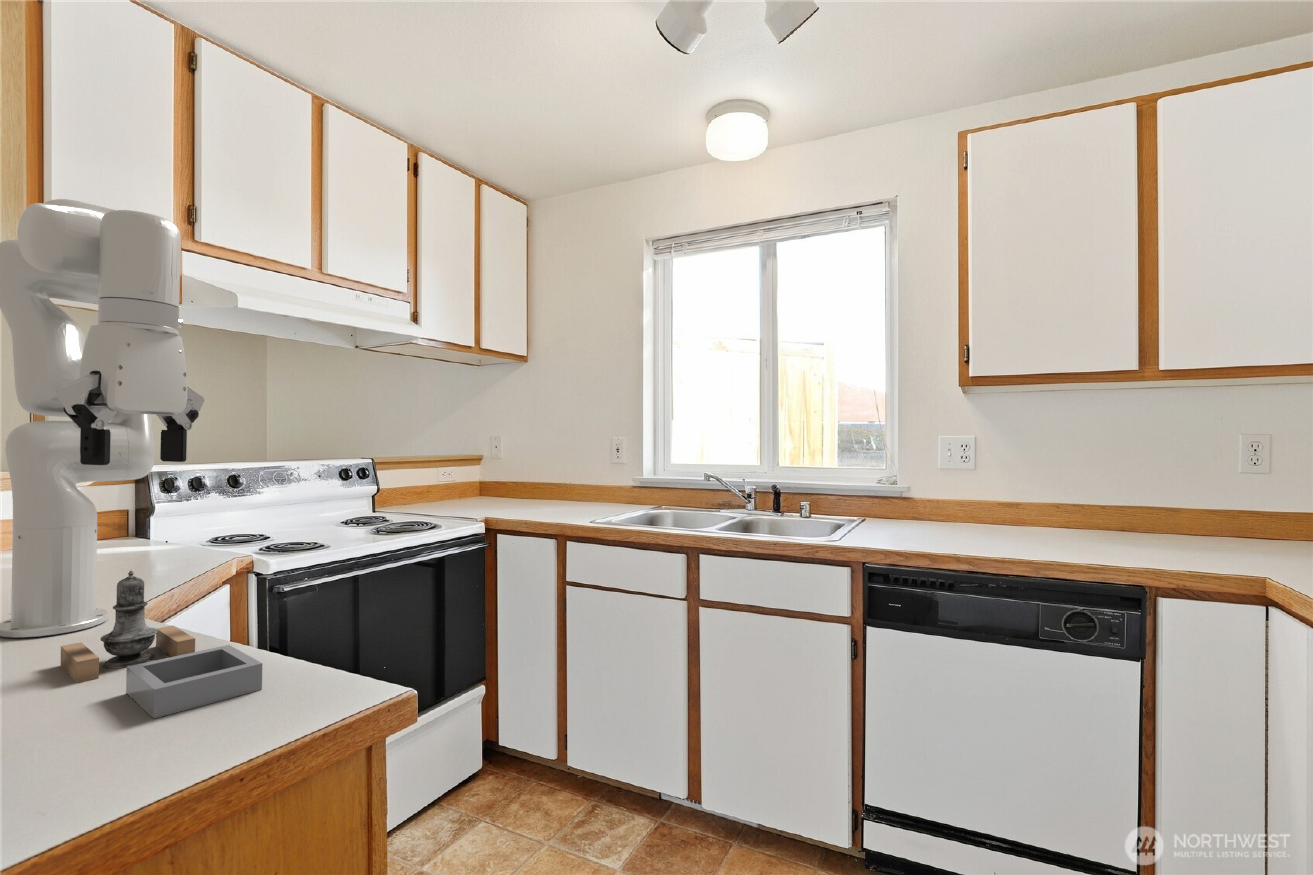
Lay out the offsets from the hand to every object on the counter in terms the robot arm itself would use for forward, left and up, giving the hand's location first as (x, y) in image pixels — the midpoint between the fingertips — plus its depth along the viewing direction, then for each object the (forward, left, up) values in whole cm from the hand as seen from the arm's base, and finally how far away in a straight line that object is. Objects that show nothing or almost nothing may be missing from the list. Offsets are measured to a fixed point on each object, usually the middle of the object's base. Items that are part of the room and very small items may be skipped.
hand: (136, 462), depth 77 cm
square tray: (+8, +4, -27) cm, 28 cm away
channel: (-10, +2, -27) cm, 29 cm away
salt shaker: (-10, +2, -27) cm, 29 cm away
